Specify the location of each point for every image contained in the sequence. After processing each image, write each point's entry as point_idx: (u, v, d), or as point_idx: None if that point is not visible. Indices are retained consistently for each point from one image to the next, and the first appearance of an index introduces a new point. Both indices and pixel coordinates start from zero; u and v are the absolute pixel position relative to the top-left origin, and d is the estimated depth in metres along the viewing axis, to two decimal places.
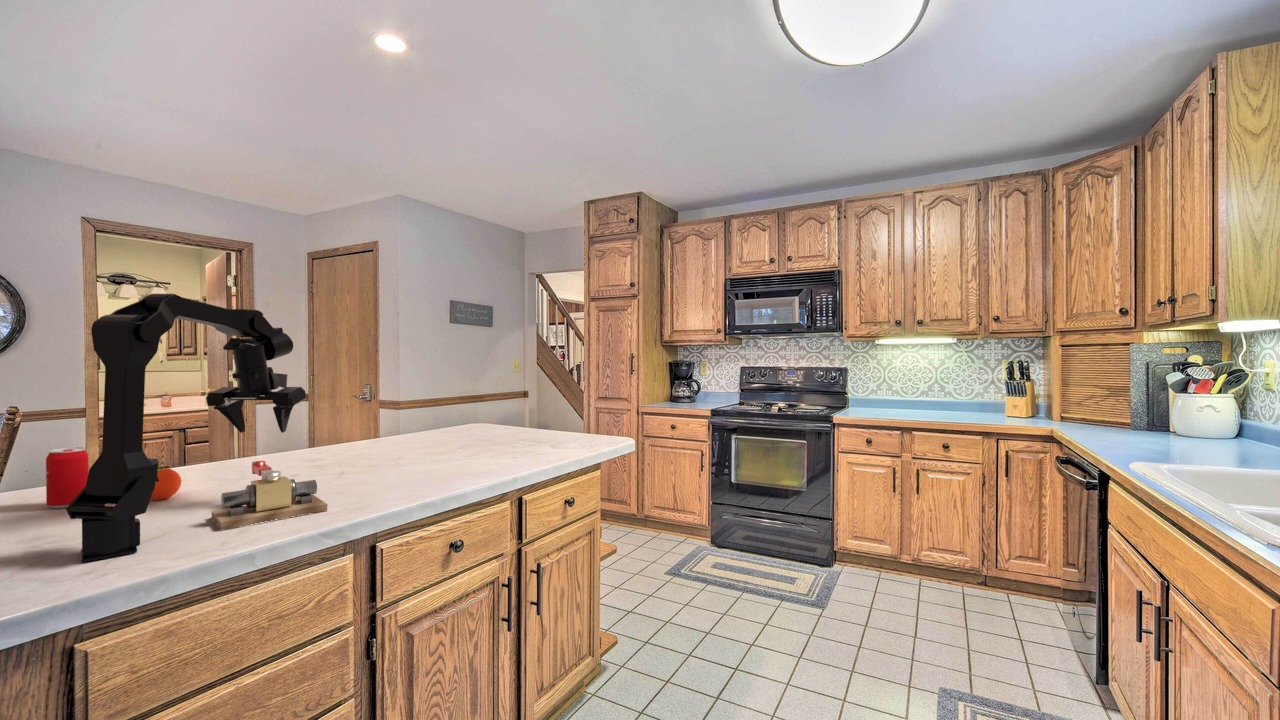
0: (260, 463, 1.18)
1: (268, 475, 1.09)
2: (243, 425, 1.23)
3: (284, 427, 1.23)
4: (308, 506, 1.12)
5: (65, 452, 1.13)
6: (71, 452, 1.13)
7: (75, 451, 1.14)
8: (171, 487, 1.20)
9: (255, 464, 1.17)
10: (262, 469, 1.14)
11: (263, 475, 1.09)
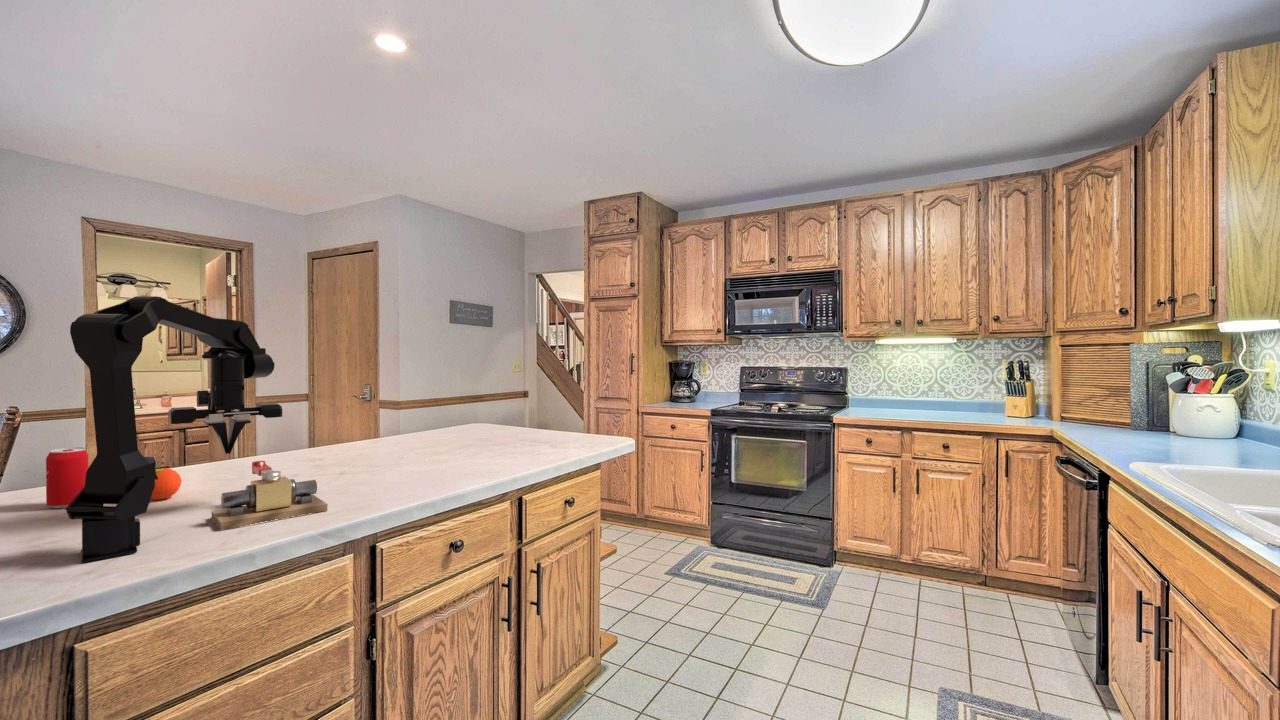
0: (260, 463, 1.18)
1: (268, 475, 1.09)
2: None
3: None
4: (308, 506, 1.12)
5: (65, 452, 1.13)
6: (71, 452, 1.13)
7: (75, 451, 1.14)
8: (171, 487, 1.20)
9: (255, 464, 1.17)
10: (262, 469, 1.14)
11: (263, 475, 1.09)
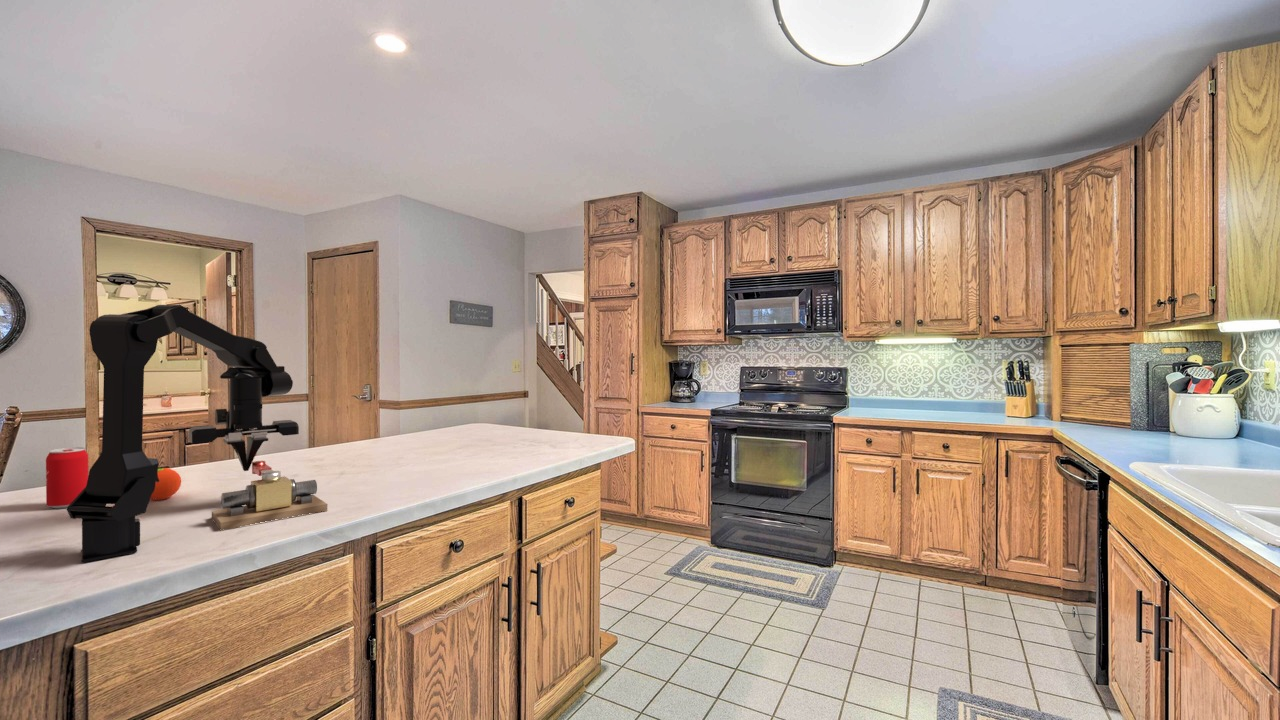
0: (260, 463, 1.18)
1: (268, 475, 1.09)
2: None
3: None
4: (308, 506, 1.12)
5: (65, 452, 1.13)
6: (71, 452, 1.13)
7: (75, 451, 1.14)
8: (171, 487, 1.20)
9: (255, 464, 1.17)
10: (262, 469, 1.14)
11: (263, 475, 1.09)
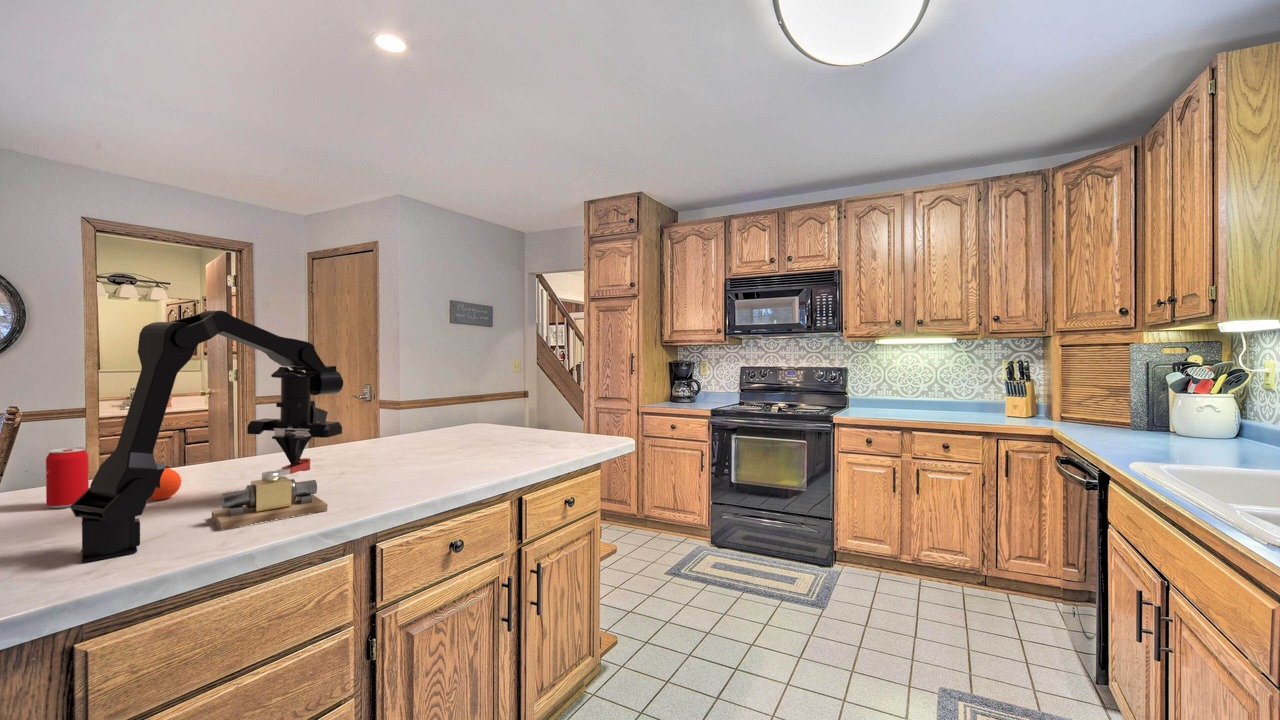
0: (301, 461, 1.21)
1: (262, 475, 1.10)
2: None
3: (296, 460, 1.22)
4: (308, 506, 1.12)
5: (65, 452, 1.13)
6: (71, 452, 1.13)
7: (75, 451, 1.14)
8: (171, 487, 1.20)
9: None
10: (284, 467, 1.16)
11: None
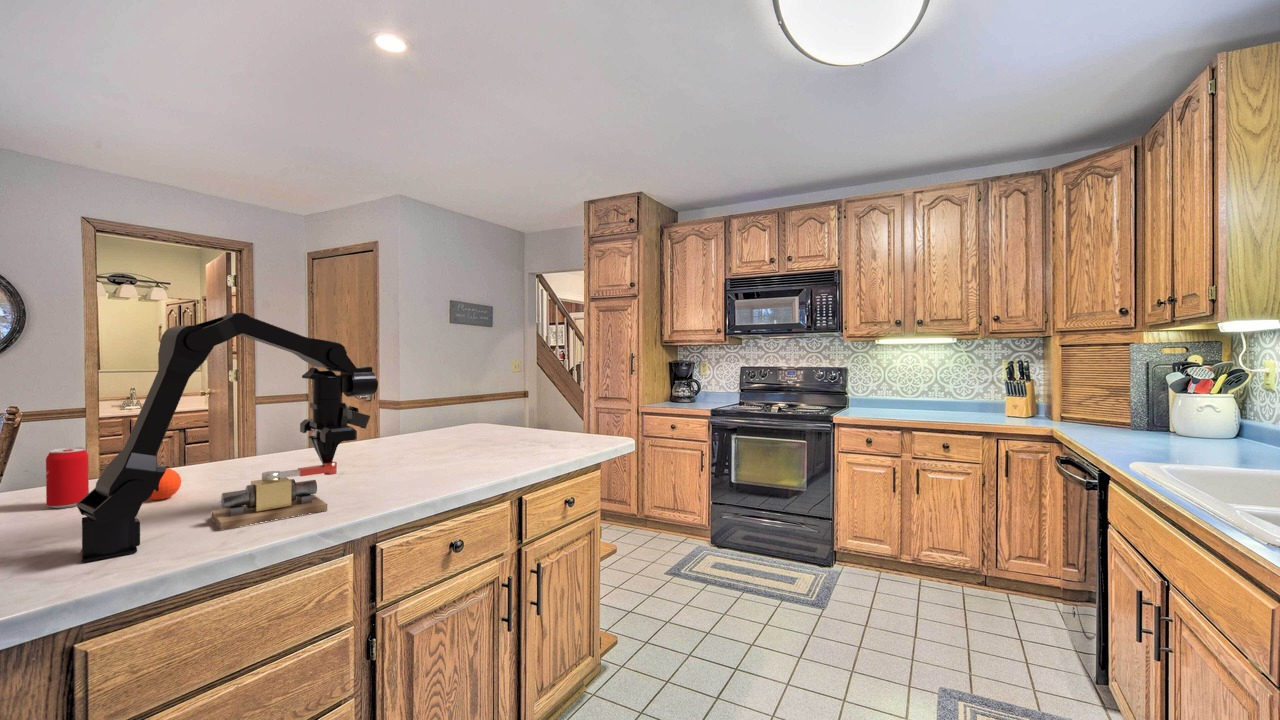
0: (325, 464, 1.18)
1: None
2: None
3: None
4: (308, 506, 1.12)
5: (65, 452, 1.13)
6: (71, 452, 1.13)
7: (75, 451, 1.14)
8: (171, 487, 1.20)
9: None
10: (298, 469, 1.15)
11: None
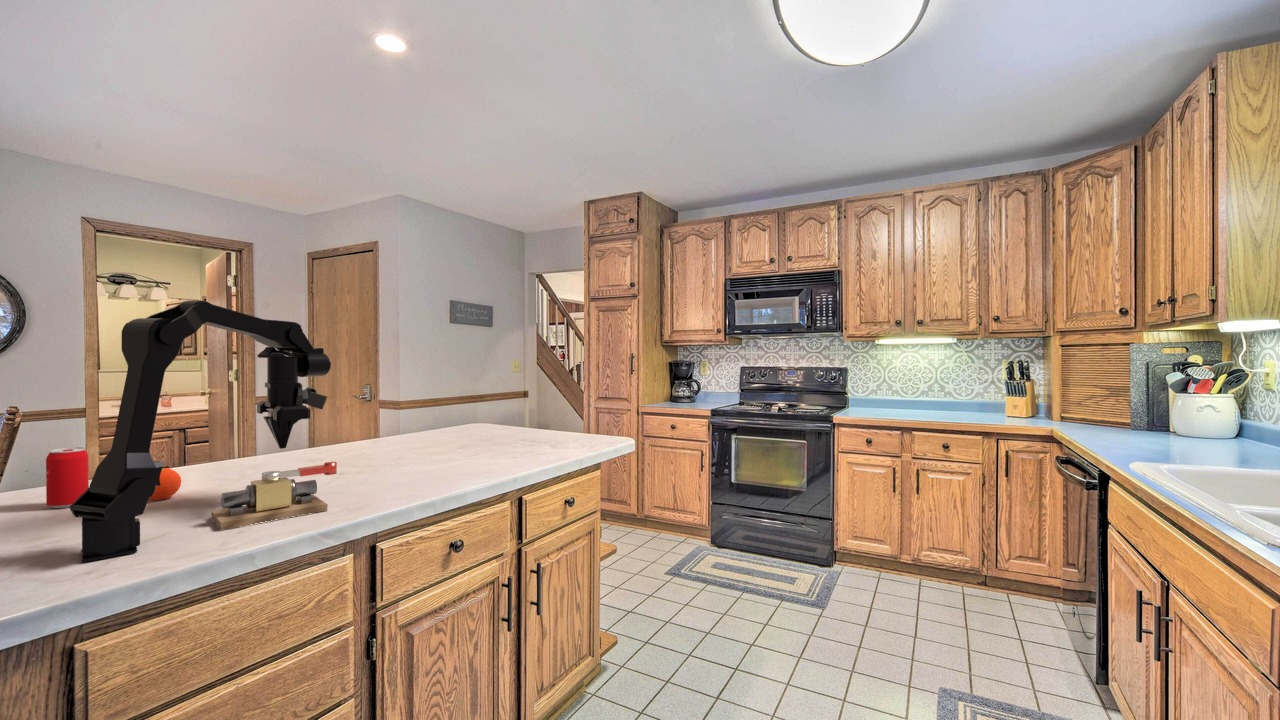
0: (325, 464, 1.18)
1: None
2: None
3: (282, 443, 1.19)
4: (308, 506, 1.12)
5: (65, 452, 1.13)
6: (71, 452, 1.13)
7: (75, 451, 1.14)
8: (171, 487, 1.20)
9: None
10: (298, 469, 1.15)
11: None
